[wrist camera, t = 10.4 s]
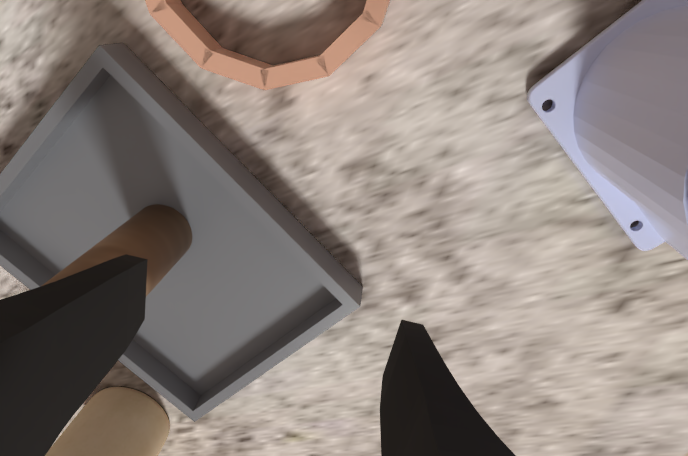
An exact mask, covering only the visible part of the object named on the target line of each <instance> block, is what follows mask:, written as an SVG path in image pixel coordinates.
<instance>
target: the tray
mask: <svg viewBox="0 0 688 456" xmlns="http://www.w3.org/2000/svg"><path fill="white" fill-rule="evenodd" d="M155 204H160V205H166V206H169V207H171V208H173V209H175V210H177V211H178V212H179V213H181V214H182V215H183V216H184V217H185V219H186V220H187V221H188V223H189V225H190V227H191V231H192V243H191V246H190V248H189V249H188V251H187V252H186V253H185V254H184V255H183V256H182V257H181V259H180V260H179V261H178V262H177V263H176V264H175V265H174V266H173V267H172V269H171V270H170V271H169V272H168V273H167V274H166V275H165V276H164V277H163V279H162V280H161V281H160V282H159V283H158V284H157V285H156V286H155V288H154V289H153V290H152V291H151V292H150V293H149V294H148V295H147V296H146V303H145V320H144V321H143V323H142V325H141V326H140V328H139V330H138V332H137V333H136V335H135V337H134V338H133V340H132V341H131V343H130V345H129V346H128V348H127V349H126V351H125V352H124V353H123V354H122V356H121V357H120V358H119V359H118V361H120V362H121V363H122V364H123V365H125V366H126V367H127V368H128V369H130V370H131V371H132V372H133V373H134V374H136V375H137V376H138V377H139V378H141V379H142V380H143V381H144V382H146V383H147V384H148V385H149V386H151V387H152V388H153V389H154V390H156V391H157V392H158V393H159V394H161V395H162V396H163V397H164V398H166V399H167V400H168V401H169V402H170V403H172V404H173V405H174V406H175V407H177V408H178V409H179V410H180V411H182V412H183V413H184V414H185V415H187V416H188V417H189V418H190V419H192V420H193V421H194V422H195V421H196V420H198V419H199V418H201V417H202V416H203V415H205V414H206V413H208V412H209V411H211V410H212V409H214V408H215V407H216V406H218V405H219V404H221V403H222V402H224V401H225V400H226V399H228V398H229V397H231V396H232V395H234V394H235V393H237V392H238V391H239V390H241V389H242V388H244V387H245V386H247V385H248V384H249V383H251V382H252V381H254V380H255V379H257V378H258V377H260V376H261V375H262V374H264V373H265V372H267V371H268V370H270V369H271V368H273V367H274V366H275V365H277V364H278V363H280V362H281V361H283V360H284V359H285V358H287V357H288V356H290V355H291V354H293V353H294V352H296V351H297V350H298V349H300V348H301V347H303V346H304V345H306V344H307V343H308V342H310V341H311V340H313V339H314V338H316V337H317V336H319V335H320V334H321V333H323V332H324V331H326V330H327V329H329V328H330V327H332V326H333V325H334V324H336V323H337V322H339V321H340V320H342V319H343V318H344V317H346V316H347V315H349V314H350V313H352V312H353V311H355V310H356V309H357V308H359V307H360V304H361V297H362V289H363V287H362V286H361V285H360V284H359V283H358V282H357V281H356V280H355V279H354V278H353V277H352V276H351V275H350V274H349V273H348V272H347V271H346V270H345V269H344V267H343V266H342V265H341V264H340V263H339V262H338V261H337V260H336V259H335V258H334V257H333V256H332V255H331V254H330V253H329V252H328V251H327V250H326V249H325V248H324V247H323V246H322V245H321V244H320V243H319V242H318V241H317V240H316V239H315V238H314V237H313V236H312V235H311V234H310V233H309V232H308V231H307V230H306V229H305V228H304V227H303V226H302V225H301V224H300V223H299V222H298V221H297V220H296V219H295V218H294V217H293V215H292V214H291V213H290V212H289V211H288V210H287V209H286V208H285V207H284V206H283V205H282V204H281V203H280V202H279V201H278V200H277V199H276V198H275V197H274V196H273V195H272V194H271V193H270V192H269V191H268V190H267V189H266V188H265V187H264V186H263V185H262V184H261V183H260V182H259V181H258V180H257V179H256V178H255V177H254V176H253V175H252V174H251V173H250V172H249V171H248V170H247V169H246V168H245V167H244V166H243V165H242V163H241V162H240V161H239V160H238V159H237V158H236V157H235V156H234V155H233V154H232V153H231V152H230V151H229V150H228V149H227V148H226V147H225V146H224V145H223V144H222V143H221V142H220V141H219V140H218V139H217V138H216V137H215V136H214V135H213V134H212V133H211V132H210V131H209V130H208V129H207V128H206V127H205V126H204V125H203V124H202V123H201V122H200V121H199V120H198V119H197V118H196V117H195V116H194V115H193V114H192V112H191V111H190V110H189V109H188V108H187V107H186V106H185V105H184V104H183V103H182V102H181V101H180V100H179V99H178V98H177V97H176V96H175V95H174V94H173V93H172V92H171V91H170V90H169V89H168V88H167V87H166V86H165V85H164V84H163V83H162V82H161V81H160V80H159V79H158V78H157V77H156V76H155V75H154V74H153V73H152V72H151V71H150V70H149V69H148V68H147V67H146V66H145V65H144V64H143V63H142V62H141V60H140V59H139V58H138V57H137V56H136V55H135V54H134V53H133V52H132V51H131V50H130V49H129V48H128V47H127V46H126V45H125V44H124V43H116V44H105V45H99V46H98V47H97V49H96V50H95V51H94V53H93V54H92V55H91V57H90V58H89V59H88V60H87V62H86V63H85V64H84V66H83V67H82V68H81V70H80V71H79V72H78V73H77V75H76V76H75V77H74V79H73V80H72V81H71V83H70V84H69V85H68V86H67V88H66V89H65V90H64V92H63V93H62V94H61V96H60V97H59V98H58V99H57V101H56V102H55V103H54V105H53V106H52V107H51V109H50V110H49V111H48V112H47V114H46V115H45V116H44V118H43V119H42V120H41V122H40V123H39V124H38V126H37V127H36V128H35V129H34V131H33V132H32V133H31V135H30V136H29V137H28V139H27V140H26V141H25V142H24V144H23V145H22V146H21V148H20V149H19V150H18V152H17V153H16V154H15V155H14V157H13V158H12V159H11V161H10V162H9V163H8V165H7V166H6V167H5V168H4V170H3V171H2V172H1V174H0V266H2V267H3V268H4V269H5V270H7V271H8V272H9V273H10V274H12V275H13V276H14V277H15V278H17V279H18V280H19V281H20V282H21V283H23V284H24V285H25V286H26V287H28V288H29V289H30V290H32V289H35V288H38V287H40V286H42V285H43V284H44V283H46V282H47V281H48V280H50V279H51V278H52V277H54V276H55V275H56V274H58V273H59V272H60V271H62V270H63V269H64V268H66V267H67V266H68V265H69V264H71V263H72V262H73V261H75V260H76V259H77V258H79V257H80V256H81V255H83V254H84V253H85V252H87V251H88V250H89V249H91V248H92V247H93V246H95V245H96V244H97V243H99V242H100V241H101V240H103V239H104V238H105V237H107V236H108V235H109V234H110V233H112V232H113V231H114V230H116V229H117V228H118V227H120V226H121V225H122V224H124V223H125V222H126V221H128V220H129V219H130V218H132V217H133V216H134V215H136V214H137V213H138V212H140V211H141V210H142V209H144V208H145V207H147V206H150V205H155Z"/></svg>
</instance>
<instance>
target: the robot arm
mask: <svg viewBox="0 0 688 456" xmlns="http://www.w3.org/2000/svg"><path fill="white" fill-rule="evenodd" d="M548 99H551V100H552V102H553V104H552V107H551V108H550V109H549V110H547V111H543V109H542V104H543V103H544V102H545V101H546V100H548ZM527 100H528V102H529V104H530V105H531V107H532V108H533V110H534V111H535V112H536V114H537V115H538V116H539V118H540V119H541V120H542V122H543V123H544V124H545V126H546V127H547V128H548V130H549V131H550V132H551V134H552V135H553V136H554V138H555V139H556V140H557V142H558V143H559V144H560V146H561V147H562V148H563V150H564V151H565V152H566V154H567V155H568V156H569V158H570V159H571V161H572V162H573V163H574V165H575V166H576V167H577V169H578V170H579V171H580V173H581V174H582V175H583V177H584V178H585V179H586V181H587V182H588V183H589V185H590V186H591V187H592V189H593V190H594V191H595V193H596V194H597V195H598V197H599V198H600V199H601V201H602V202H603V203H604V205H605V206H606V208H607V209H608V210H609V212H610V213H611V214H612V216H613V217H614V218H615V220H616V221H617V222H618V224H619V225H620V226H621V228H622V229H623V230H624V232H625V233H626V234H627V236H628V237H629V238H630V240H631V241H632V242H633V244H634V245H635V246H636V247H637V248H638V249H640V250H643V251H647V250H651V249H653V248H655V247H657V246H658V245H660V244H662V243H663V242H665V241H666V242H667V243H668V244H669V245H670V246H672V247H673V248H674V249H675V250H676V251H678V252H679V253H680V254H681V255H682V256H683V257H685V258H686V259H687V260H688V0H642V1H641V2H639V3H638V4H637V5H635V6H634V7H633V8H632V9H630V10H629V11H628V12H626V13H625V14H624V15H623V16H621V17H620V18H619V19H618V20H616V21H615V22H614V23H612V24H611V25H610V26H609V27H607V28H606V29H605V30H603V31H602V32H601V33H600V34H598V35H597V36H596V37H595V38H593V39H592V40H591V41H589V42H588V43H587V44H586V45H584V46H583V47H582V48H580V49H579V50H578V51H577V52H575V53H574V54H573V55H571V56H570V57H569V58H568V59H566V60H565V61H564V62H563V63H561V64H560V65H559V66H557V67H556V68H555V69H554V70H552V71H551V72H550V73H548V74H547V75H546V76H545V77H543V78H542V79H541V80H540V81H538V82H537V83H536V84H534V85H533V86H532V87H531V88H530V89H529V91H528V94H527ZM637 220H638V221H639V223H638V225H637V226H635V227H633V228H631V227H630V225H631V223H633V222H634V221H637ZM147 261H148V259H144V258H140V257H135V256H131V255H127V254H125V255H122V256H119V257H116V258H113V259H111V260H108V261H106V262H103V263H101V264H98V265H96V266H93V267H91V268H88V269H86V270H83V271H80V272H78V273H75V274H73V275H70V276H68V277H65V278H63V279H60V280H57V281H55V282H52V283H49V284H46V285H43V286H40V287H38V288H35V289H32V290H29V291H26V292H23V293H20V294H18V295H15V296H11V297H8V298H5V299H2V300H0V456H45V455H46V453H47V452H48V450H49V449H50V447H51V446H52V444H53V443H54V441H55V440H56V438H57V437H58V435H59V434H60V432H61V431H62V429H63V428H64V427H65V425H66V424H67V423H68V421H69V420H70V419H71V417H72V416H73V415H74V413H75V412H76V411H77V410H78V409H79V407H80V406H81V405H82V404H83V402H84V401H85V400H86V399H87V398H88V396H89V395H90V394H91V393H92V391H93V390H94V389H95V388H96V387H97V385H98V384H99V383H100V382H101V380H102V379H103V378H104V377H105V376H106V374H107V373H108V372H109V371H110V369H111V368H112V367H113V366H114V364H115V363H116V362H117V361H118V359H119V358H120V357H121V356H122V354H123V353H124V352H125V351H126V349H127V348H128V346H129V345H130V343H131V341H132V340H133V338H134V337H135V335H136V333H137V332H138V330H139V328H140V326H141V325H142V323H143V321H144V320H145V303H146V282H147ZM380 426H381V453H382V456H515V455H514V454H513V452H512V451H511V450H510V449H509V448H508V447H507V446H506V445H505V444H504V443H503V442H502V441H501V440H500V438H499V437H498V436H497V435H496V434H495V433H494V431H493V430H492V429H491V428H490V427H489V425H488V424H487V423H486V422H485V421H484V419H483V418H482V417H481V416H480V414H479V413H478V412H477V411H476V409H475V408H474V407H473V405H472V404H471V402H470V401H469V400H468V398H467V397H466V395H465V394H464V393H463V391H462V390H461V388H460V387H459V385H458V384H457V382H456V381H455V379H454V377H453V376H452V374H451V373H450V371H449V369H448V368H447V366H446V364H445V363H444V361H443V359H442V358H441V356H440V354H439V352H438V351H437V349H436V347H435V345H434V343H433V342H432V340H431V338H430V336H429V334H428V333H427V331H426V329H425V327H424V326H423V325H422V324H417V323H413V322H409V321H405V320H401V323H400V326H399V329H398V332H397V335H396V338H395V341H394V344H393V347H392V350H391V353H390V356H389V359H388V362H387V365H386V368H385V371H384V374H383V380H382V390H381V402H380Z"/></svg>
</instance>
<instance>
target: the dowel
mask: <svg viewBox="0 0 688 456" xmlns="http://www.w3.org/2000/svg"><path fill="white" fill-rule="evenodd" d="M191 243H192V231H191V227H190V225H189V223H188V221H187V220H186V219H185V217H184V216H183V215H182V214H181V213H179V212H178V211H177V210H175V209H173V208H171V207H169V206H166V205H160V204H155V205H150V206H147V207H145V208H144V209H142V210H141V211H140V212H138V213H137V214H136V215H134V216H133V217H132V218H130V219H129V220H128V221H126V222H125V223H124V224H122V225H121V226H120V227H118V228H117V229H116V230H114V231H113V232H112V233H110V234H109V235H108V236H107V237H105V238H104V239H103V240H101V241H100V242H99V243H97V244H96V245H95V246H93V247H92V248H91V249H89V250H88V251H87V252H85V253H84V254H83V255H81V256H80V257H79V258H77V259H76V260H75V261H73V262H72V263H71V264H69V265H68V266H67V267H66V268H64V269H63V270H62V271H60V272H59V273H58V274H56V275H55V276H54V277H52V278H51V279H50V280H48V281H47V282H46V283H44V284H43V285H46V284H49V283H52V282H55V281H57V280H60V279H63V278H65V277H68V276H70V275H73V274H75V273H78V272H80V271H83V270H86V269H88V268H91V267H93V266H96V265H98V264H101V263H103V262H106V261H108V260H111V259H113V258H116V257H119V256H122V255H125V254H127V255H131V256H135V257H140V258H144V259H148V261H147V282H146V296H147V295H148V294H149V293H150V292H151V291H152V290H153V289H154V288H155V286H156V285H157V284H158V283H159V282H160V281H161V280H162V279H163V277H164V276H165V275H166V274H167V273H168V272H169V271H170V270H171V269H172V267H173V266H174V265H175V264H176V263H177V262H178V261H179V260H180V259H181V257H182V256H183V255H184V254H185V253H186V252H187V251H188V249H189V248H190V246H191ZM43 285H42V286H43Z"/></svg>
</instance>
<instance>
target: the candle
mask: <svg viewBox="0 0 688 456" xmlns="http://www.w3.org/2000/svg"><path fill="white" fill-rule="evenodd" d="M169 429H170V424H169V420H168V417H167V415H166V413H165V411H164V410H163V408H162V407H161V406H160V405H159V404H158V403H157V402H156V401H155V400H153V399H152V398H151V397H149V396H147V395H146V394H144V393H142V392H140V391H137V390H134V389H131V388H126V387H110V388H106V389H103V390H101V391H99V392H98V393H96V394H95V395H94V396H93V397H92V398H91V399H90V400H89V401H88V403H87V404H86V405H85V406H84V407H83V409H82V410H81V411H80V412H79V414H78V415H77V416H76V417H75V418H74V420H73V421H72V422H71V423H70V425H69V426H68V427H67V428H66V430H65V431H64V432H63V433H62V435H61V436H60V437H59V438H58V440H57V441H56V442H55V443H54V445H53V446H52V447H51V448H50V450H49V451H48V452H47V453H46V455H45V456H158V454H159V453H160V451H161V449H162V447H163V445H164V443H165V441H166V439H167V436H168V433H169Z"/></svg>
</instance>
